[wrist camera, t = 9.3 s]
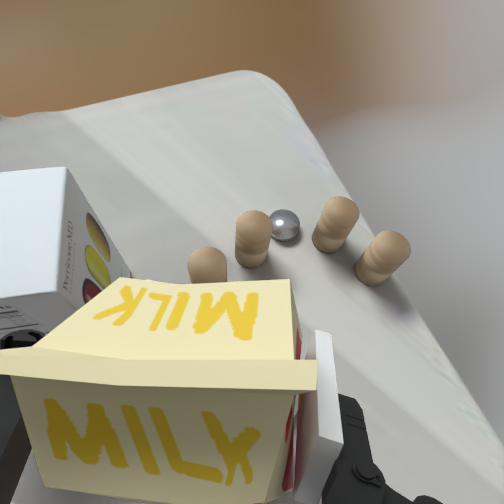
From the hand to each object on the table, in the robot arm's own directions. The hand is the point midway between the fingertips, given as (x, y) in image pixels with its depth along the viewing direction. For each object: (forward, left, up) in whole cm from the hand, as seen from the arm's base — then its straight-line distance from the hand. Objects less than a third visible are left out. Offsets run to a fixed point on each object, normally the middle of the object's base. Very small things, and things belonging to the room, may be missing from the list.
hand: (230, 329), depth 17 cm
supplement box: (-15, -4, -18) cm, 24 cm away
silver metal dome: (-5, +17, -18) cm, 26 cm away
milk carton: (+1, -3, -9) cm, 10 cm away
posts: (-1, +13, -18) cm, 22 cm away
